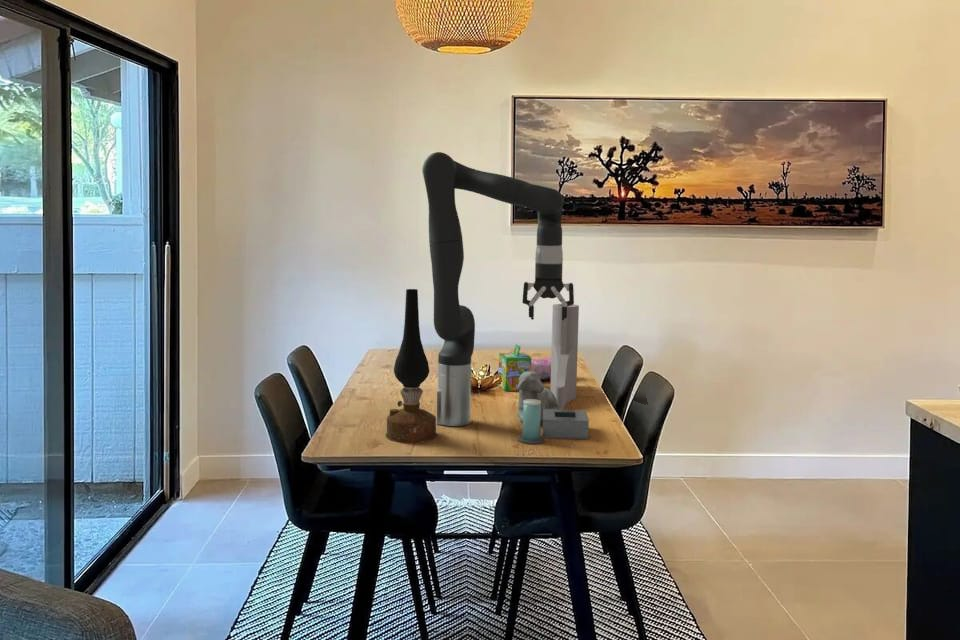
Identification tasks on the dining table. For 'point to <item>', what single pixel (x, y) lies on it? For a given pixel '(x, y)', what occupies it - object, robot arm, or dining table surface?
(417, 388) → the oil lamp
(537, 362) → the pencil case
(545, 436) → the housing
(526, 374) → the sculpture
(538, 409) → the teal canister
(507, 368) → the chalk box
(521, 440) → the coaster
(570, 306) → the grey piece
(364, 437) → the dining table surface
